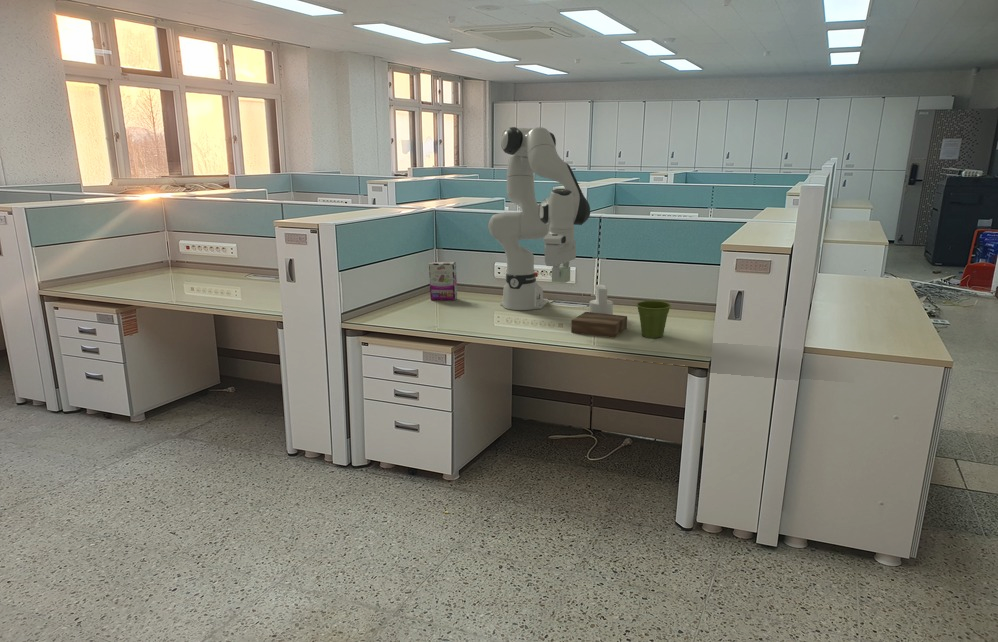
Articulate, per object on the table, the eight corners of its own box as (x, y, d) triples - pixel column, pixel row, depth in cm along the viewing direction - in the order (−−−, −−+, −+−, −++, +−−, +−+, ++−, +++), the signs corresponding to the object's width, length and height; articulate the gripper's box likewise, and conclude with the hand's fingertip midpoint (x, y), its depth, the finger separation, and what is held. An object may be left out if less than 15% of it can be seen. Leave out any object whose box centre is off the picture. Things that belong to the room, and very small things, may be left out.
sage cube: (557, 279, 242) (557, 265, 241) (570, 280, 240) (570, 266, 238) (551, 281, 238) (551, 267, 236) (564, 282, 235) (564, 268, 234)
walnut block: (585, 324, 251) (585, 311, 250) (626, 329, 243) (627, 316, 242) (571, 333, 239) (571, 320, 238) (614, 339, 231) (614, 325, 230)
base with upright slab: (587, 314, 264) (588, 284, 261) (610, 314, 264) (611, 284, 261) (590, 320, 256) (591, 289, 253) (614, 319, 256) (615, 289, 253)
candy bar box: (457, 298, 296) (456, 261, 292) (455, 300, 291) (453, 263, 287) (433, 297, 298) (431, 261, 294) (430, 300, 293) (428, 263, 289)
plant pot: (631, 331, 239) (632, 301, 236) (663, 330, 239) (665, 300, 237) (640, 341, 227) (641, 308, 224) (674, 339, 228) (676, 307, 225)
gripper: (564, 232, 245) (564, 270, 248) (541, 239, 228) (541, 279, 231) (580, 233, 242) (580, 271, 245) (558, 240, 225) (558, 280, 228)
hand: (561, 275), depth 238 cm, fingers closed on sage cube, 5 cm apart
